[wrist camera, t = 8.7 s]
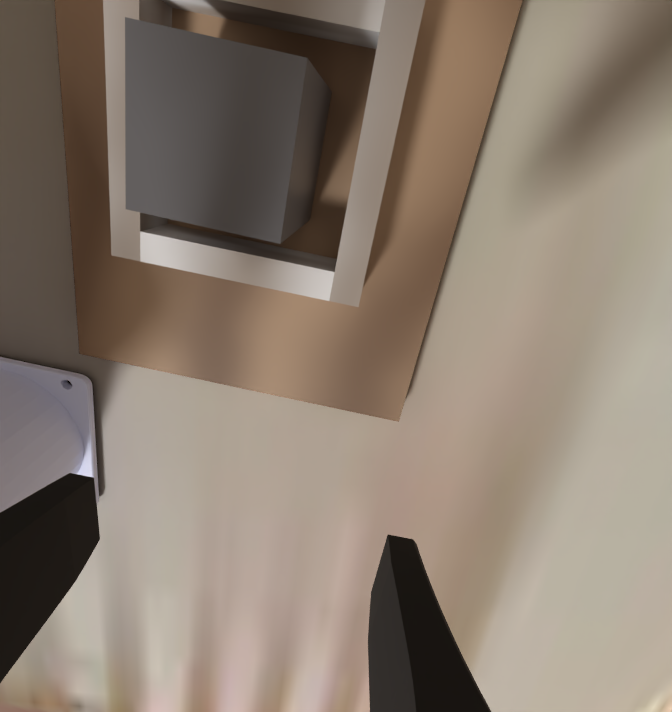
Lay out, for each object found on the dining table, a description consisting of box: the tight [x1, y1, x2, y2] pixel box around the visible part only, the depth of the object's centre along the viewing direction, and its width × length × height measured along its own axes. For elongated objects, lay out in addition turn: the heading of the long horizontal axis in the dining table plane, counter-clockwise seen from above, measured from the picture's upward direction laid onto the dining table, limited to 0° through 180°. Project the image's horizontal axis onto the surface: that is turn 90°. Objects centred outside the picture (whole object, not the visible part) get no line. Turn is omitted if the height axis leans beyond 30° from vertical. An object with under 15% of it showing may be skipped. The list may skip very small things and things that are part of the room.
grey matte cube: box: [125, 17, 332, 244], centre depth 12 cm, size 4×4×5 cm
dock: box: [55, 0, 523, 422], centre depth 14 cm, size 14×19×3 cm
